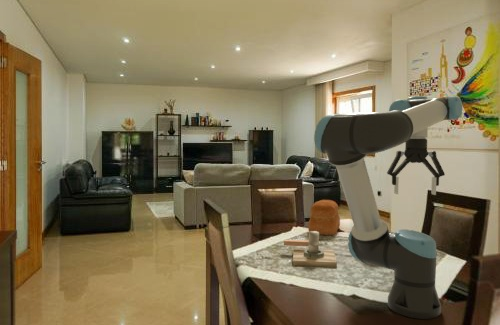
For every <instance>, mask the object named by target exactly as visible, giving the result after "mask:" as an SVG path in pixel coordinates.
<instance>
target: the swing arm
mask: <svg viewBox="0 0 500 325" xmlns="http://www.w3.org/2000/svg"><path fill="white" fill-rule="evenodd" d="M308 245H309V240H303V239H301V240H300V239H283V246H288V247H290V246H293V247H308Z"/></svg>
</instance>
